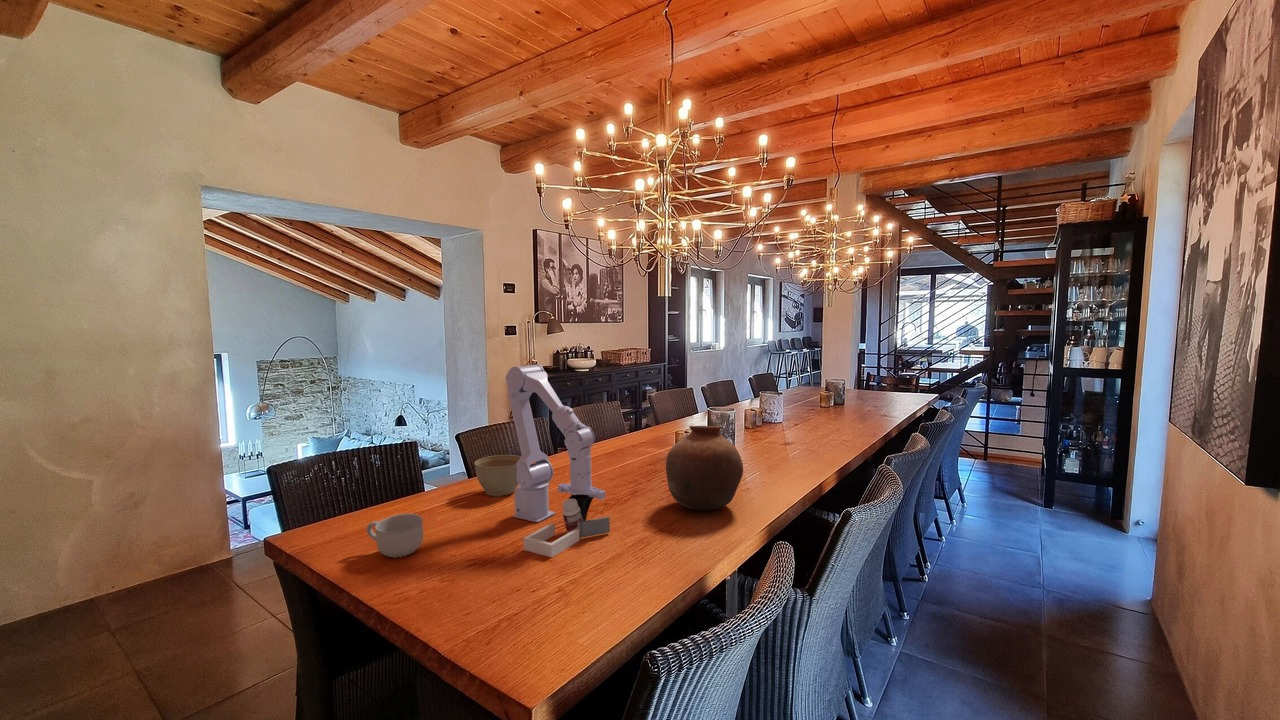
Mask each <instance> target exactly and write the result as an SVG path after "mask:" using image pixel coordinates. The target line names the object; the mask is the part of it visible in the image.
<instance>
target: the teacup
mask: <svg viewBox="0 0 1280 720" xmlns="http://www.w3.org/2000/svg"><path fill="white" fill-rule="evenodd" d="M423 521H424V519H423V516H421V515H419V514H416V513H401V514H400V513H399V514H395V515H392V516H389V517H385V518H384V519H382V520H379V521H377V520H373V521H370V522H369V523H368V524H367V526H366V533H367V535H368V537H370V539H372V540H374V541H376V546H377V549H378V551H379V552H380V554H382V555H384V556H386V557H387V556H388V557H387V558H390V557H393V558H392V559H397V558H396V557H400V558H403V557H402V556H405V557H407V556H406V555H408V556H409V554H410V555H412V554H413V553H415V552H416V551H417V549H418V548H420V547H421V545H422V543H423V541H424V527H423V526H424V525H423ZM373 527H374V530H375V532H374V531H373ZM411 553H412V554H411Z"/></svg>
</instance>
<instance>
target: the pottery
mask: <svg viewBox="0 0 1280 720" xmlns="http://www.w3.org/2000/svg"><path fill="white" fill-rule="evenodd" d="M689 429H690V430H691V432H690V434H688V435H687V436H685V437H684V438H681V439H680V440H679V441H677V442H676V443H675V444H674V445H673V446H672V447H671V448H670V450H668V452H667V456H666V462H665V471H666V480H667V487H668V489H669V492H670V494H671V496H672V497H673V499H674V500H675V501H676V502H677V503H678V504H679V505H681V506H682V507H684V508H687V509H690V510H697V511H711V510H717V509H721V508H724V507H726V506H727V505H728V504H730V503H731V502H732V501H733V499H734V497H735V495H736V492H737V490H738V487H739V485H740V483H741V480H742V477H743V474H744V465H743V460H742V457H741V454H740V452H739V450H738V449H737V447H736V446H735V445H734V444H733V443H732V442H731V441H730V440H729V439H727V438H726V437H724V436H723V435H722V434H721V433H720V430H721V429H723V428H722V426H721V425H689Z"/></svg>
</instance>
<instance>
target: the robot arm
mask: <svg viewBox="0 0 1280 720" xmlns="http://www.w3.org/2000/svg"><path fill="white" fill-rule="evenodd" d="M548 377H549V376H548V373H547V371H545V369H544V367H543V366H542V365H540V364H532V365H531V364H530V365H524V366H523V365H521V366H512V367H511V368H510V369H508V372H507V374H506V376H505V381H506V386H507V390H508V399H509V404H510V405H509V406H510V409H511V413H512V417H513V422H514V426H515V431H516V436H517V441H518V444H519V449H520V453H521V456H520V457H521V458H520V459H519V460H518V462H517V463H516V467H517V474H516V478H517V482H518V485H517V487H516V489H515V492H514V514H513V517H514V518H518V519H521V520H525V521H530V522H533V523H539V522H541V521H542V522H543V520H546V519H548V518H550V517H552V516H553V515H555V514H556V512H555V511H552V510H549V509H550V508H549V506H550V504H549V485H550V481H551V480H552V479H553V477H554V468H553V465H552V463H551V462H550V460H549V456H548V455H547V454H546V453H544V452H543V451H541V448H540V447H541V446H540V443H539V439H538V434H537V430H536V425H535V420H534V417H533V411H532V408H531V404H530V397H531V396H532V394H533V393H536V394H537V395H538V397H539V398H540V399H541V401H543V403H544V405H546V406H547V408H548V409H549V410H550V411H551V412H552V415H551V418H552V421H553V422H554V424H555V425H556V427H557V428H558V429H559V431H560V432H561V433H562V435H563V436H564V438H565V439H564V440H563V441H564V446H565V448H566V449H567V453H568V454H567V455H568V457H569V474H570V475H569V476H570V477H569V479H570V480H569V481H570V483H559V484H558V485H557V492H558V493H568V494H569V495H570V496H569V497H568V499H576V500H577V503H578V506H579V507H580V510H581V515H582V520H583V521H587V516H588V511H589V509H590V505H591V504H592V502H593V499H594V498H595V499H598V500H600V501H601V500H604V499H605V498H606V490H604V489H599V488H597V487H595V486H593V485H592V484H593V483H592V453H591V452H592V450H591V449H592V448H591V447H592V446H594V444H595V439H596V436H595V433H594V431H593V429H592V428H591V427H590V426H587V425H585V423H583V422H581V421H580V419H579V418H578V416H576V413H574V409H573V408H572V407H570V406H568V405H564V404H563V403H562V402H561V400H560V398H559V396H558V395H557V393H556V392H555V390H554V389H553V387H552V386H551V384H550V382H549V381H548Z"/></svg>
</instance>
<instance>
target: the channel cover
mask: <svg viewBox="0 0 1280 720" xmlns="http://www.w3.org/2000/svg"><path fill="white" fill-rule="evenodd" d="M610 518H611V517H609V516H604V517H599V518H594V519H588V520H587V519H586V521H578V529H579V540H580V539H582V538H586V537H593V536H598V535H603V534H608V533H610V532H611V530H610V529H611V528H610V523H611V522H610Z"/></svg>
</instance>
